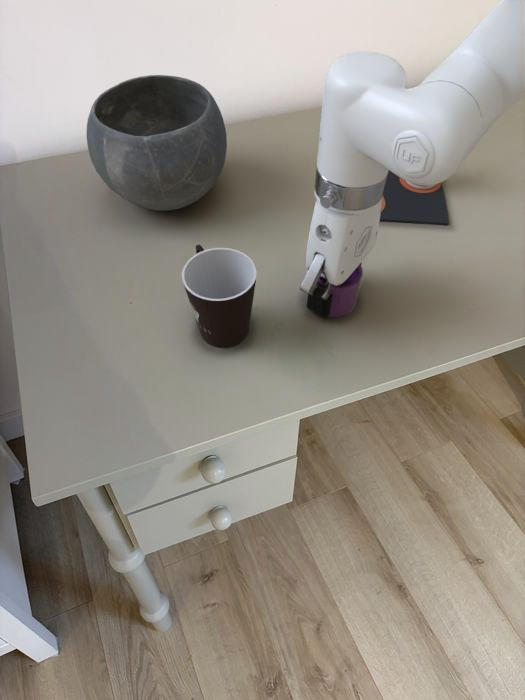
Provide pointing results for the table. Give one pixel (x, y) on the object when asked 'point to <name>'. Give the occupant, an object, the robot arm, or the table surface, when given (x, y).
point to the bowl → (157, 141)
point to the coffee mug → (220, 294)
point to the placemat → (412, 203)
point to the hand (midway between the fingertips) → (332, 294)
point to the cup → (344, 293)
